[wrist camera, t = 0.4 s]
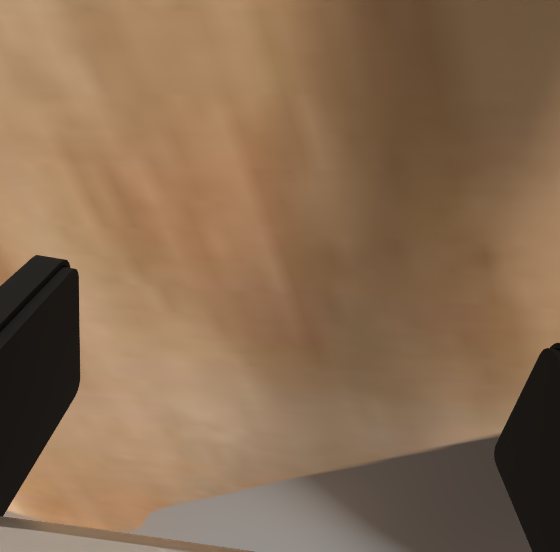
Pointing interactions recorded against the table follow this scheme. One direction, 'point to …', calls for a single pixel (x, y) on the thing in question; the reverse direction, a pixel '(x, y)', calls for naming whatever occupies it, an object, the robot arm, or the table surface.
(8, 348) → the robot arm
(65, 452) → the table surface
